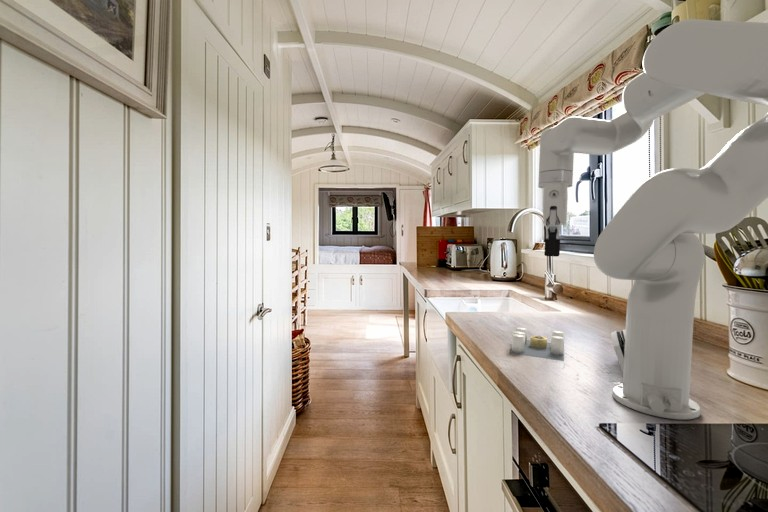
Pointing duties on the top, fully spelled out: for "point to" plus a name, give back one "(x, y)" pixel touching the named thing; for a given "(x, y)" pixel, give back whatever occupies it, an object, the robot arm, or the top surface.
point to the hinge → (619, 346)
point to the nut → (538, 342)
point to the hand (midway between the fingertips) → (552, 255)
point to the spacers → (521, 339)
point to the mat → (540, 352)
